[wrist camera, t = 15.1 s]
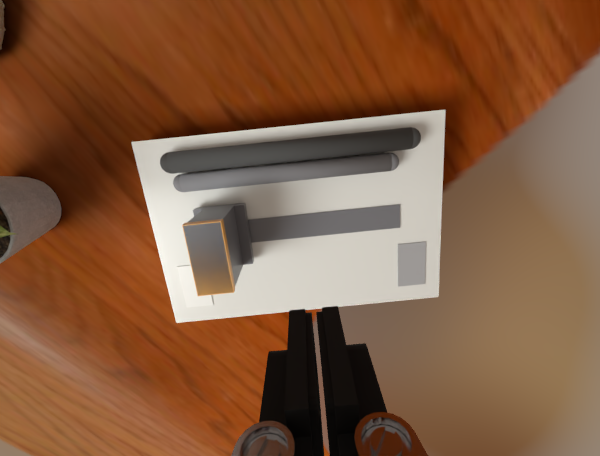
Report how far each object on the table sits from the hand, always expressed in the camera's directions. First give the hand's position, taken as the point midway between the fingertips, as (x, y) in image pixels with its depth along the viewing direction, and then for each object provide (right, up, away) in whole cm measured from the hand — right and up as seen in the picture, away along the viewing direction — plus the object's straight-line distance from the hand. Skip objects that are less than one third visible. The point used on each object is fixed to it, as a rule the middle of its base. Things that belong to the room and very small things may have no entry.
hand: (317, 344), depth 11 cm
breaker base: (-1, +5, +18) cm, 19 cm away
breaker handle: (-7, +4, +15) cm, 17 cm away
